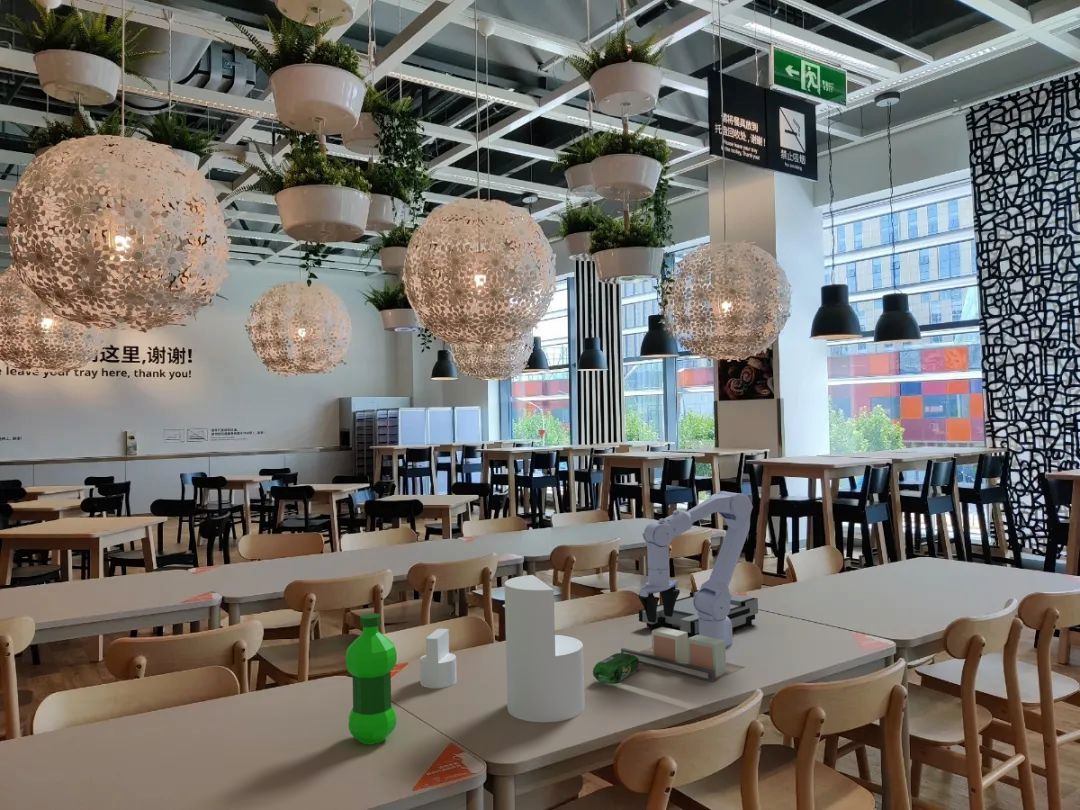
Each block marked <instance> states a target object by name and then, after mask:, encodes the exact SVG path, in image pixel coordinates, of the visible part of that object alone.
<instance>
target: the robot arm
mask: <svg viewBox="0 0 1080 810" xmlns="http://www.w3.org/2000/svg"><path fill="white" fill-rule="evenodd" d="M753 508H754V506H753V504H752V502H751V500H750V498H749V496H748V495H747V494H745V493H743V492H741V493H740V492H739V493H737V492H731V491H725V490H721V491H718V492H717V493H714V494H711V496H710V497H709V498H707V499H706V500H704V501H702V502H701V503H699V504H697V505H696V506H694V507H692V508H691V509H688V510H687V511H685V510H682V509H681V510H677V509H676V510H673V511H672V514H670V515H669V516H666V517H665V518H659V519H658V522H651V523H649V524H647V525H646V527H645V528H644V531H643V533H642V538H643V540H644V542H645V543H646V548H647V553H646V554H647V576H648V577H647V578H648V582H645V586H643V587H641V588H639V594H638V599H639V601H640V603H641V605H642V606H643V609H645V612H646V616H647V619H648V622H653V623H655V622H656V614H657V605H659V601H660V596H661V600H662V604H663V609H664V615H665V616H669V617H672V615H673V610H674V606H675V602H676V600H678V597H679V595H680V593H681V591H680V590H681V589H677V588H679V583H678V580H677V579H670V578H671V577H670V552H669V551H670V550H669V547H670V544H671V543H672V541H673V539H674V538H676V537H678V536H679V535H682V534H684V533H686V532H687V531H689V530H691V529H692V526H693V523H695V522H697V521H699V520H702V519H703V518H706V517H708V516H710V515H712V514H714V513H718V514H719V516H720V517H721V518H722V519H723V520H724V521H725V523H726V525H727V530H726V533H725V536H724V539H723V541H722V543H721V546H720V549H719V552H718V555H717V557H716V560H715V563H714V565H713V568H712V571H711V574H710V576H709V579H707V580H706V581H705V582H703V583H702V584H701V586H700V588H699V589H698V590H699V591H698V592H697V593H696V594H695V596H694V598H693V605H694V608H695V609H696V610H697V611H698V615H699V635H702V636H706V637H711V638H716V639H721V640H725V649H726V648H727V647H730V646H732V645H734V643H733V632H732V623H731V621H730V619H729V618H728V617H727V615H728V614H729V611H730V600H731V597H732V595H731V594H732V592H731V591H730V588H729V586H730V582H731V580H732V577H733V576H734V575H733V574H734V572H735V569H736V567H737V564H738V561H739V559H740V556H741V553H742V550H743V548H744V544H745V542H746V540H747V536H748V535H749V531H750V527H751V513H752V510H753ZM658 593H660V596H655V594H658Z"/></svg>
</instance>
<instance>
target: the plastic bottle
mask: <svg viewBox="0 0 1080 810" xmlns="http://www.w3.org/2000/svg"><path fill="white" fill-rule="evenodd" d="M359 619H360V620H359V624H360V625H359V626H360V627H361V628H362V633H361V634H360V635H359V636H358V637H357V638H355V639H354V640H353V642H351V644H349V646H348V647H347V649H346V652H345V665H346V670H347V672H348V673H349V674H350V675H352V708H351V710H350V713H349V715H348V729H349V731H350V732H349V733H350V735H352V736H353V738H355V739H356V740H358V741H359V742H360V743H361V742H362V744H364V745H376V744H379V743H382V742H383V741H385V740H386V738H387V737H388V736H389V735H390V734H391V733H392V732H394V730H395V728H396V724H397V716H396V715H397V714H396V711H395V708H394V706H393V705H392V683H391V682H392V677H391V675H392V674H391V672H392V671H393V669H394V668H395V667H396V665H397V658H398V657H397V653H398V652H397V650H396V647H395V644H394V641H392V640H391V639H390V638H388V637H387V636H386V635H385V634H382V633H381V632H380V631H379V627H380V626H381V625H382V621H381V620H382V615H381V613H365V614H362V615H360V616H359ZM375 743H376V744H375Z"/></svg>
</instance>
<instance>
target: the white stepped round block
mask: <svg viewBox="0 0 1080 810" xmlns="http://www.w3.org/2000/svg"><path fill="white" fill-rule="evenodd" d="M504 617H505V660H506V663H505V664H506V698H507V699H506V701H507V704H506V705H507V713H509V714H510V715H511V716H512V717H514V718H515V719H518V720H521V721H525V722H533V723H555V722H563V721H567V720H570V719H573V718H575V717H577V716H580V715H581V714H582V713H583V712H584V710H585V679H584V676H585V675H584V674H585V673H584V672H585V671H584V644H583V642H582V641H581V640H579V639H578V638H575V637H572V636H567V635H561V634H556V630H555V629H556V627H555V626H556V625H555V590H554V589H553V588H552V587H551V586H549V585H548V584H547V583H545V582H544V581H543V580H541V579H540V578H538V577H537V576H535V575H534V574H529V575H521V576H520V575H519V576H516V577H512V578H509V579H507V580H506V581H504Z"/></svg>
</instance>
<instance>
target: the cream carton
mask: <svg viewBox="0 0 1080 810" xmlns="http://www.w3.org/2000/svg"><path fill="white" fill-rule="evenodd" d="M687 638H689V636H688V632H684V631H680V629H679V630H674V629H669V628H665V627H661V628H658V629H656V628H654V629H653V630H651V647H652V653H653V655H654V656H658V657H662V658H666V659H670V660H674V661H678V662H682V663H686V664H688V643H687Z"/></svg>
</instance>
